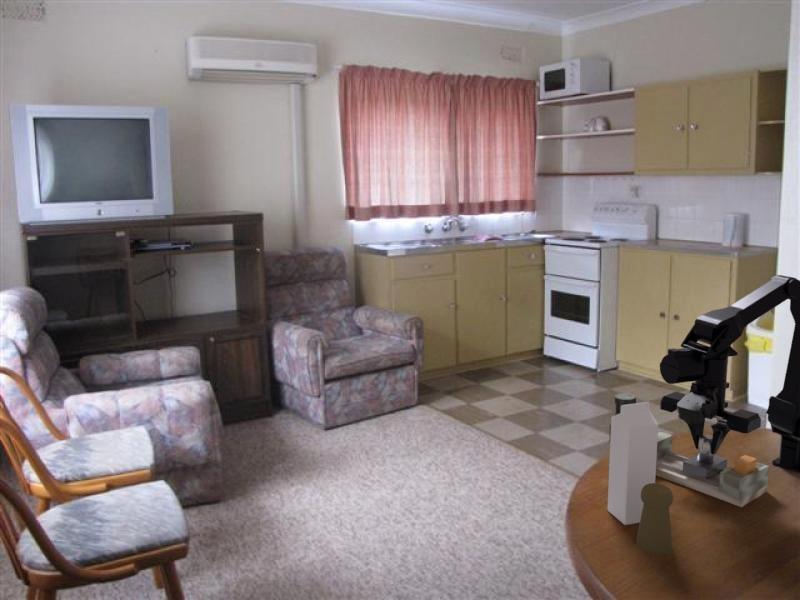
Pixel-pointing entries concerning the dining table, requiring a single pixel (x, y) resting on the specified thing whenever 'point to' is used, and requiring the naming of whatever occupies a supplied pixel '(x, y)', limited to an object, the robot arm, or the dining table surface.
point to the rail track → (718, 485)
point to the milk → (631, 460)
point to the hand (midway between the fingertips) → (705, 451)
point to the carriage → (705, 460)
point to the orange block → (745, 464)
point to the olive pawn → (655, 520)
